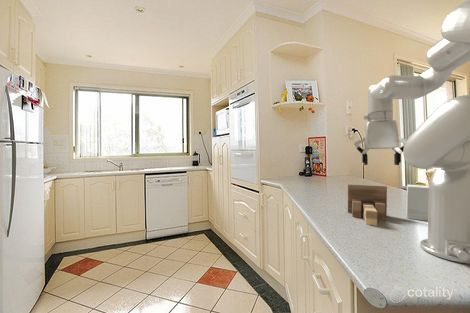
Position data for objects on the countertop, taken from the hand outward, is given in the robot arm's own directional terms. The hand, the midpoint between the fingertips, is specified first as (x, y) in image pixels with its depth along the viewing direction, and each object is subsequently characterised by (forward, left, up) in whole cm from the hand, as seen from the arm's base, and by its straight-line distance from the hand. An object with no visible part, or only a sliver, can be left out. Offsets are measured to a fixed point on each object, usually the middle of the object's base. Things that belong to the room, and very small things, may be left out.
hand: (380, 164), depth 81 cm
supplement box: (+14, -15, -22) cm, 30 cm away
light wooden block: (+2, +3, -22) cm, 22 cm away
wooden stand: (+8, +3, -22) cm, 23 cm away
